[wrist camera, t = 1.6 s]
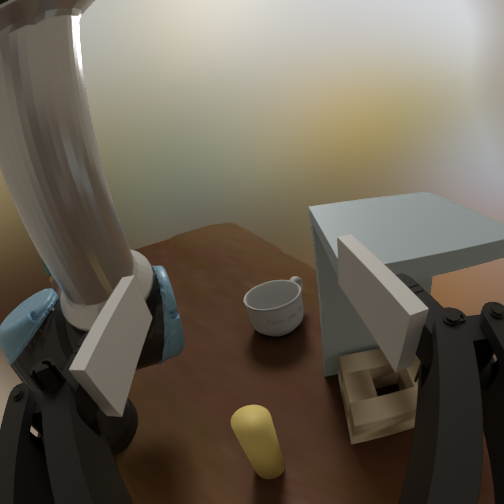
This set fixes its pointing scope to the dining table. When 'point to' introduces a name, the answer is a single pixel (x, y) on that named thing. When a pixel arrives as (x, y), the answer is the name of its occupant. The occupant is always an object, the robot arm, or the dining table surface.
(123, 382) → the robot arm
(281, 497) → the dining table surface
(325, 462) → the dining table surface
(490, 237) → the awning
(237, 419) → the peg
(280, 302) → the teacup
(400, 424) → the socket block
